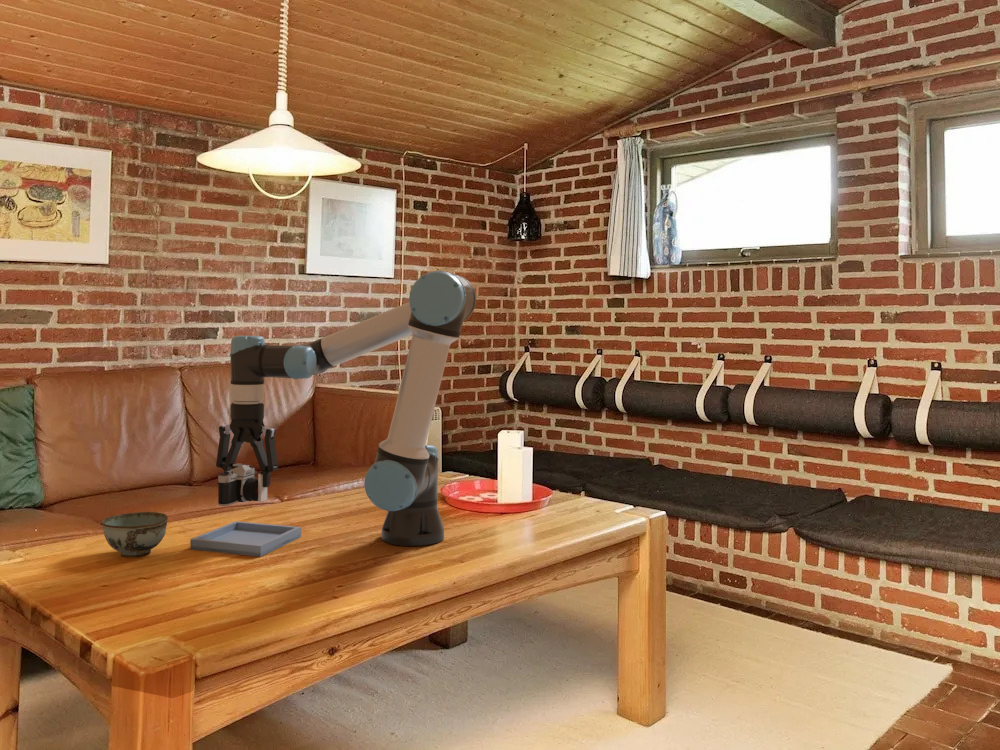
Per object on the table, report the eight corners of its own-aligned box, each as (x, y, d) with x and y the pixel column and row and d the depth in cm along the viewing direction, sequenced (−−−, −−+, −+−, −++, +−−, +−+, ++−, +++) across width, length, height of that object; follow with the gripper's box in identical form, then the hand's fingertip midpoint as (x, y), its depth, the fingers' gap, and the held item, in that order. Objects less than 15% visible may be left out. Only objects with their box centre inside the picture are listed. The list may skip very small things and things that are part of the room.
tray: (301, 536, 200) (301, 527, 200) (260, 556, 183) (260, 546, 183) (235, 530, 205) (235, 521, 205) (190, 549, 188) (190, 539, 187)
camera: (244, 508, 185) (246, 468, 185) (213, 505, 187) (215, 465, 187) (272, 501, 198) (274, 463, 198) (242, 498, 199) (245, 461, 199)
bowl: (182, 549, 188) (181, 514, 187) (138, 565, 175) (137, 528, 174) (134, 543, 192) (133, 509, 191) (87, 558, 179) (87, 522, 179)
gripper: (295, 402, 193) (294, 499, 194) (218, 398, 198) (218, 492, 200) (278, 405, 185) (277, 506, 187) (199, 401, 191) (199, 499, 192)
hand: (246, 499), depth 193 cm, fingers closed on camera, 8 cm apart
